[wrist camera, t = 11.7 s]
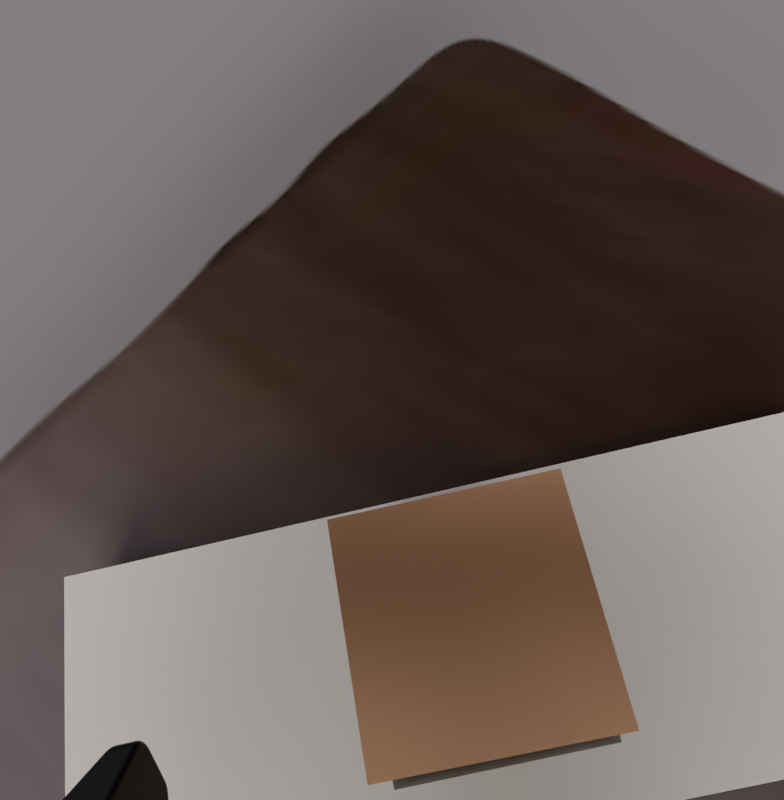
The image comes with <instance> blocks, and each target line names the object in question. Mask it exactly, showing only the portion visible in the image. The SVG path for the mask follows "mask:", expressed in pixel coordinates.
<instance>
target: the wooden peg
mask: <svg viewBox="0 0 784 800" xmlns="http://www.w3.org/2000/svg"><path fill="white" fill-rule="evenodd" d="M327 523H328V530H329V536H330V543H331V549H332V556H333V562H334V569H335V575H336V582H337V589H338V595H339V602H340V608H341V615H342V621H343V628H344V634H345V641H346V647H347V654H348V661H349V667H350V674H351V680H352V687H353V693H354V700H355V706H356V713H357V719H358V726H359V733H360V739H361V746H362V752H363V759H364V765H365V772H366V778H367V785H371V784H376V783H381V782H386V781H391V780H396V779H401V778H406V777H411V776H416V775H421V774H426V773H431V772H436V771H441V770H446V769H451V768H456V767H461V766H466V765H471V764H476V763H481V762H486V761H491V760H496V759H501V758H506V757H511V756H516V755H521V754H526V753H531V752H536V751H541V750H546V749H551V748H556V747H561V746H566V745H571V744H576V743H581V742H586V741H591V740H596V739H601V738H606V737H611V736H616V735H621V734H626V733H631V732H636V731H639V728H638V725H637V721H636V718H635V715H634V711H633V708H632V705H631V701H630V698H629V695H628V691H627V688H626V685H625V681H624V678H623V675H622V671H621V668H620V665H619V662H618V658H617V655H616V652H615V648H614V645H613V642H612V638H611V635H610V632H609V628H608V625H607V622H606V618H605V615H604V612H603V608H602V605H601V602H600V598H599V595H598V592H597V588H596V585H595V582H594V578H593V575H592V572H591V568H590V565H589V562H588V558H587V555H586V552H585V548H584V545H583V542H582V539H581V535H580V532H579V529H578V525H577V522H576V519H575V515H574V512H573V509H572V505H571V502H570V499H569V495H568V492H567V489H566V485H565V482H564V479H563V475H562V472H561V469H555V470H551V471H546V472H542V473H537V474H533V475H528V476H524V477H519V478H514V479H510V480H505V481H501V482H496V483H492V484H487V485H483V486H478V487H474V488H469V489H465V490H460V491H455V492H451V493H446V494H442V495H437V496H433V497H428V498H424V499H419V500H415V501H410V502H406V503H401V504H397V505H392V506H387V507H383V508H378V509H374V510H369V511H365V512H360V513H356V514H351V515H347V516H342V517H338V518H333V519H328V520H327Z"/></svg>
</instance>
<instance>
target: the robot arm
mask: <svg viewBox="0 0 784 800" xmlns="http://www.w3.org/2000/svg"><path fill="white" fill-rule="evenodd" d="M63 800H168V789H167V785H166V782H165V780H164V778H163V776H162V774H161V772H160V770H159V768H158V766H157V764H156V762H155V760H154V758H153V756H152V754H151V752H150V750H149V748H148V746H147V745H146V744H145V743H144V742H142V741H133V742H129V743H124V744H120V745H115V746H113V747H111V748H110V749H108V750H107V751H106V752H105V753H104V754H103V756H102V757H101V758H100V759H99V760H98V761H97V762H96V763H95V764H94V766H93V767H92V768H91V769H90V770H89V771H88V772H87V773H86V774H85V776H84V777H83V778H82V779H81V780H80V781H79V782H78V783H77V784H76V785H75V787H74V788H73V789H72V790H71V791H70V792H69V793H68V794H67V795H66V797H65V798H64V799H63Z"/></svg>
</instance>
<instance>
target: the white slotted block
mask: <svg viewBox="0 0 784 800" xmlns="http://www.w3.org/2000/svg"><path fill="white" fill-rule="evenodd" d="M555 469H561V472H562V475H563V479H564V482H565V485H566V489H567V492H568V495H569V499H570V502H571V505H572V509H573V512H574V515H575V519H576V522H577V525H578V529H579V532H580V535H581V539H582V542H583V545H584V548H585V552H586V555H587V558H588V562H589V565H590V568H591V572H592V575H593V578H594V582H595V585H596V588H597V592H598V595H599V598H600V602H601V605H602V608H603V612H604V615H605V618H606V622H607V625H608V628H609V632H610V635H611V638H612V642H613V645H614V648H615V652H616V655H617V658H618V662H619V665H620V668H621V671H622V675H623V678H624V681H625V685H626V688H627V691H628V695H629V698H630V701H631V705H632V708H633V711H634V715H635V718H636V721H637V725H638V728H639V731H636V732H631V733H626V734H621V735H616V736H611V737H606V738H601V739H596V740H591V741H586V742H581V743H576V744H571V745H566V746H561V747H556V748H551V749H546V750H541V751H536V752H531V753H526V754H521V755H516V756H511V757H506V758H501V759H496V760H491V761H486V762H481V763H476V764H471V765H466V766H461V767H456V768H451V769H446V770H441V771H436V772H431V773H426V774H421V775H416V776H411V777H406V778H401V779H396V780H391V781H386V782H381V783H376V784H371V785H367V778H366V772H365V765H364V759H363V752H362V746H361V739H360V733H359V726H358V719H357V713H356V706H355V700H354V693H353V687H352V680H351V674H350V667H349V661H348V654H347V647H346V641H345V634H344V628H343V621H342V615H341V608H340V602H339V595H338V589H337V582H336V575H335V569H334V562H333V556H332V549H331V543H330V536H329V530H328V523H327V520H328V519H333V518H338V517H342V516H347V515H351V514H356V513H360V512H365V511H369V510H374V509H378V508H383V507H387V506H392V505H397V504H401V503H406V502H410V501H415V500H419V499H424V498H428V497H433V496H437V495H442V494H446V493H451V492H455V491H460V490H465V489H469V488H474V487H478V486H483V485H487V484H492V483H496V482H501V481H505V480H510V479H514V478H519V477H524V476H528V475H533V474H537V473H542V472H546V471H551V470H555ZM64 656H65V797H66V795H67V794H68V793H69V792H70V791H71V790H72V789H73V788H74V787H75V785H76V784H77V783H78V782H79V781H80V780H81V779H82V778H83V777H84V776H85V774H86V773H87V772H88V771H89V770H90V769H91V768H92V767H93V766H94V764H95V763H96V762H97V761H98V760H99V759H100V758H101V757H102V756H103V754H104V753H105V752H106V751H107V750H108V749H110V748H111V747H113V746H115V745H120V744H124V743H129V742H133V741H142V742H144V743H145V744H146V745H147V746H148V748H149V750H150V752H151V754H152V756H153V758H154V760H155V762H156V764H157V766H158V768H159V770H160V772H161V774H162V776H163V778H164V780H165V782H166V785H167V789H168V800H686V799H691V798H696V797H701V796H706V795H710V794H715V793H720V792H725V791H730V790H735V789H740V788H745V787H749V786H754V785H759V784H764V783H769V782H774V781H779V780H784V412H783V413H778V414H774V415H770V416H765V417H761V418H757V419H752V420H748V421H744V422H739V423H735V424H730V425H726V426H722V427H717V428H713V429H709V430H704V431H700V432H696V433H691V434H687V435H682V436H678V437H674V438H669V439H665V440H661V441H656V442H652V443H648V444H643V445H639V446H635V447H630V448H626V449H621V450H617V451H613V452H608V453H604V454H600V455H595V456H591V457H587V458H582V459H578V460H573V461H569V462H565V463H560V464H556V465H552V466H547V467H543V468H539V469H534V470H530V471H525V472H521V473H517V474H512V475H508V476H504V477H499V478H495V479H491V480H486V481H482V482H478V483H473V484H469V485H464V486H460V487H456V488H451V489H447V490H443V491H438V492H434V493H430V494H425V495H421V496H416V497H412V498H408V499H403V500H399V501H395V502H390V503H386V504H382V505H377V506H373V507H368V508H364V509H360V510H355V511H351V512H347V513H342V514H338V515H334V516H329V517H325V518H321V519H316V520H312V521H307V522H303V523H299V524H294V525H290V526H286V527H281V528H277V529H273V530H268V531H264V532H259V533H255V534H251V535H246V536H242V537H238V538H233V539H229V540H225V541H220V542H216V543H211V544H207V545H203V546H198V547H194V548H190V549H185V550H181V551H177V552H172V553H168V554H164V555H159V556H155V557H150V558H146V559H142V560H137V561H133V562H129V563H124V564H120V565H116V566H111V567H107V568H102V569H98V570H94V571H89V572H85V573H81V574H76V575H72V576H68V577H64Z"/></svg>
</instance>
